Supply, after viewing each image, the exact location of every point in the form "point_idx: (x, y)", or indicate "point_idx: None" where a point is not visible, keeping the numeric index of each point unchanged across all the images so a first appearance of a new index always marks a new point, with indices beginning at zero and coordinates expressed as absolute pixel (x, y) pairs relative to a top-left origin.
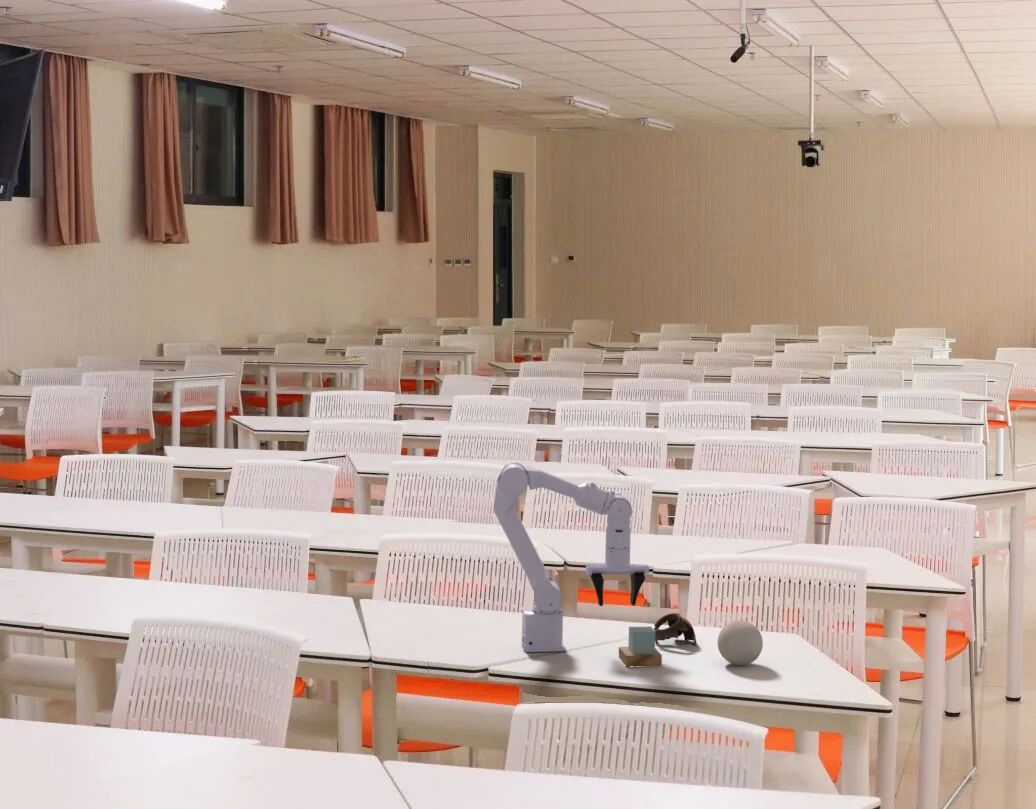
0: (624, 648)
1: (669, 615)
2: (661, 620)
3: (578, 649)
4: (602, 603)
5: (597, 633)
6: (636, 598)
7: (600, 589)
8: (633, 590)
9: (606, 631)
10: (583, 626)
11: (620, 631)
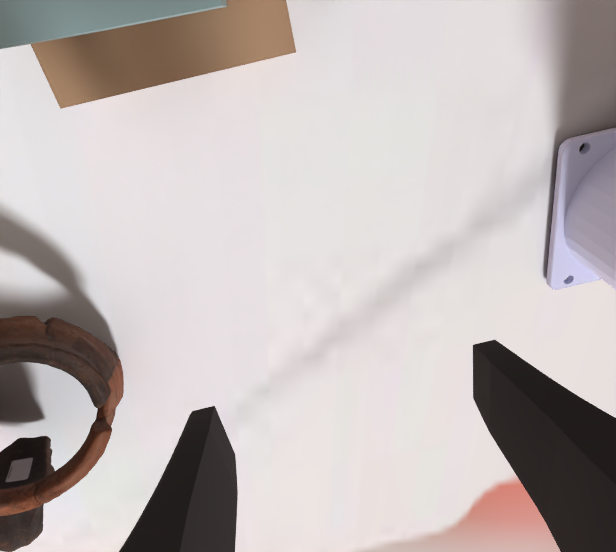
0: (256, 9)
1: (11, 498)
2: (69, 465)
3: (486, 201)
4: (488, 355)
5: (372, 438)
6: (170, 460)
7: (612, 443)
8: (198, 542)
9: (337, 466)
10: (413, 498)
11: (285, 475)
